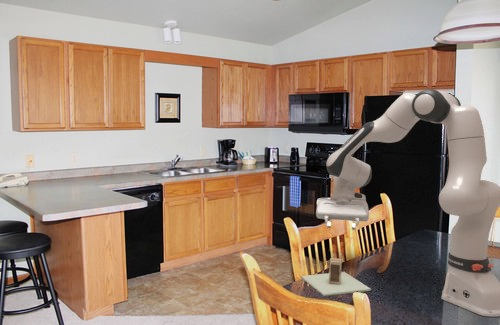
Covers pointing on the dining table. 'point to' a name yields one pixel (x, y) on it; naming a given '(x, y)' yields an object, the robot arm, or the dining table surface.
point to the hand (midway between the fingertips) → (341, 228)
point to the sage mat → (326, 289)
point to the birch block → (335, 271)
